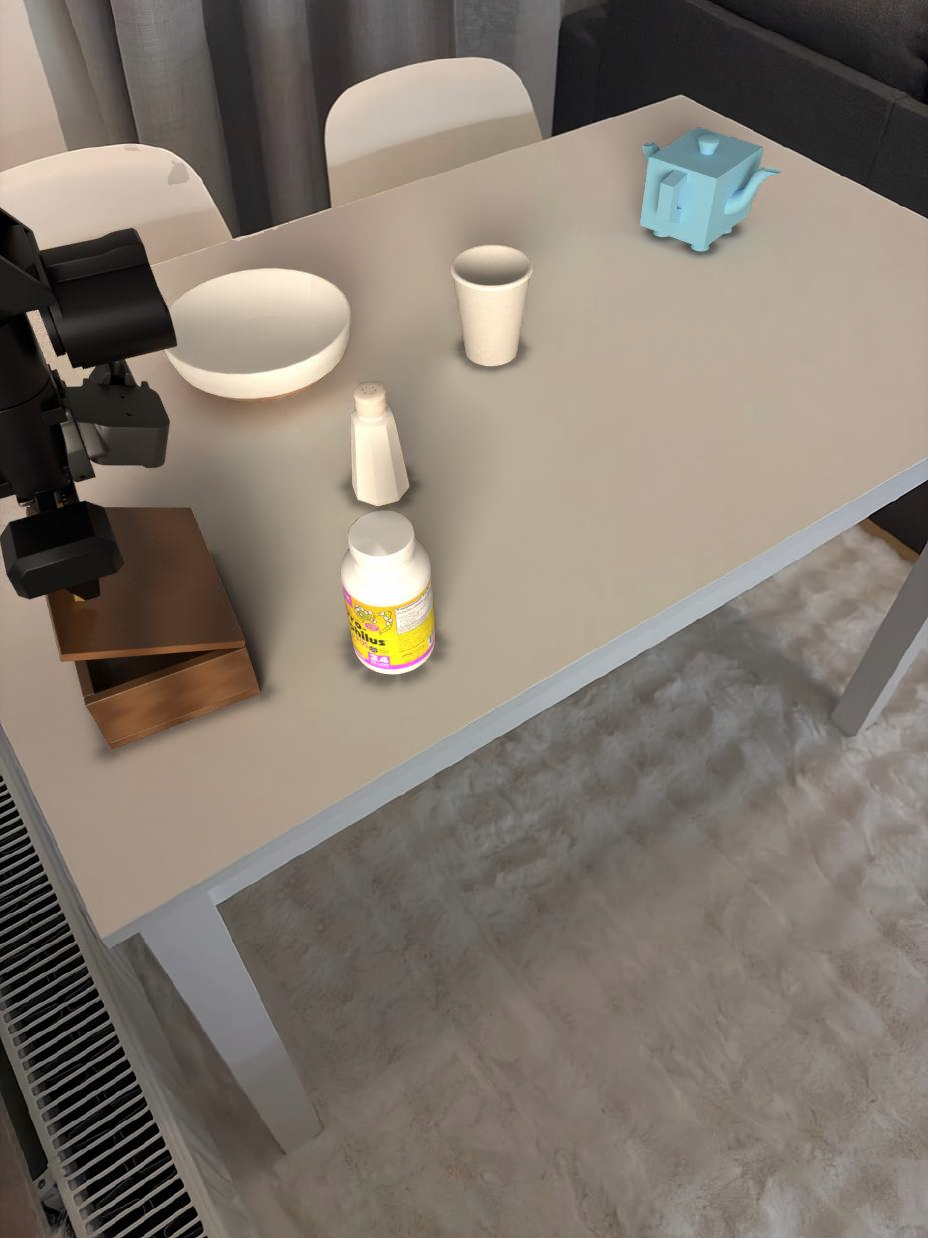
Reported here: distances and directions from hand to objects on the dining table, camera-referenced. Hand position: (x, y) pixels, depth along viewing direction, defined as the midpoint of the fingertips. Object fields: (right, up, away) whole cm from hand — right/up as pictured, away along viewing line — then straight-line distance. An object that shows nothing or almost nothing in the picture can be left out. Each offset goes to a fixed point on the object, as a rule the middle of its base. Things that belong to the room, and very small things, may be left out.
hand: (84, 567), depth 65 cm
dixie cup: (+30, +25, +35) cm, 52 cm away
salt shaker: (+19, +9, +21) cm, 30 cm away
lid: (+2, -1, +3) cm, 4 cm away
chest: (+3, -6, +9) cm, 11 cm away
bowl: (+6, +23, +33) cm, 41 cm away
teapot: (+56, +45, +50) cm, 87 cm away
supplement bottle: (+21, -6, +9) cm, 24 cm away
